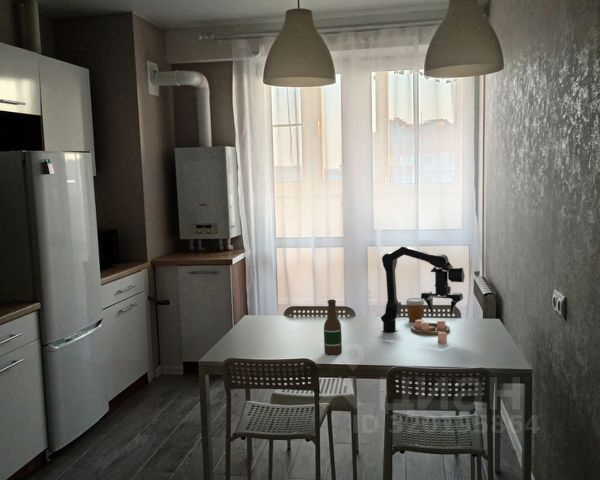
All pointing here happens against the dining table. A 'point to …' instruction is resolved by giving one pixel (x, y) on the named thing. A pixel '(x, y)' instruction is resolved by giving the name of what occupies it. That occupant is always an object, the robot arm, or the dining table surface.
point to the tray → (430, 330)
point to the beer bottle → (332, 331)
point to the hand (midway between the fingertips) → (442, 313)
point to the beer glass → (415, 309)
